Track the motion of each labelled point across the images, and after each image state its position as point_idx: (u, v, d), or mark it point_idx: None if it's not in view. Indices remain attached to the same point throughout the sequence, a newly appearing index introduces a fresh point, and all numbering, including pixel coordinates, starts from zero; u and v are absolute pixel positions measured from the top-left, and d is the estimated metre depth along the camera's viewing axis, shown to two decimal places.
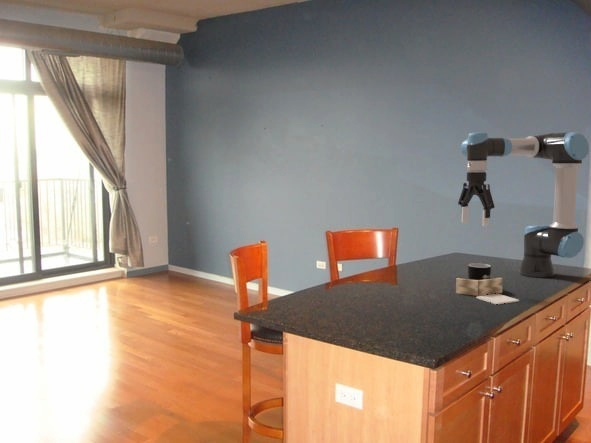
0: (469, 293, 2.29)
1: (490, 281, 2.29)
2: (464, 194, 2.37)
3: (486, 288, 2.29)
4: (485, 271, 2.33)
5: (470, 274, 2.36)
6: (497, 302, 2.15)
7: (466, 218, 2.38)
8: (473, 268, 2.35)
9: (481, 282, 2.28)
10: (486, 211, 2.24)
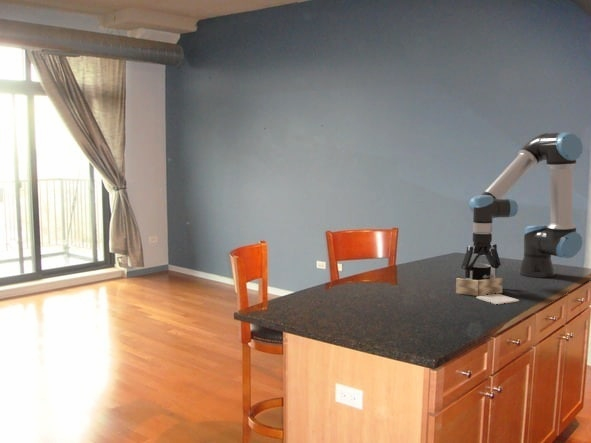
0: (469, 293, 2.29)
1: (490, 281, 2.29)
2: (493, 255, 2.41)
3: (486, 288, 2.29)
4: (485, 271, 2.33)
5: None
6: (497, 302, 2.15)
7: None
8: (473, 268, 2.35)
9: (481, 282, 2.28)
10: None
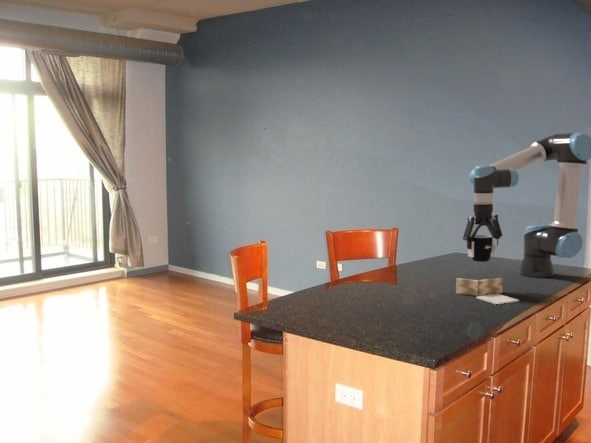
0: (469, 293, 2.29)
1: (490, 281, 2.29)
2: (494, 225, 2.40)
3: (486, 288, 2.29)
4: (487, 241, 2.32)
5: None
6: (497, 302, 2.15)
7: (494, 250, 2.40)
8: (475, 239, 2.33)
9: (481, 282, 2.28)
10: None
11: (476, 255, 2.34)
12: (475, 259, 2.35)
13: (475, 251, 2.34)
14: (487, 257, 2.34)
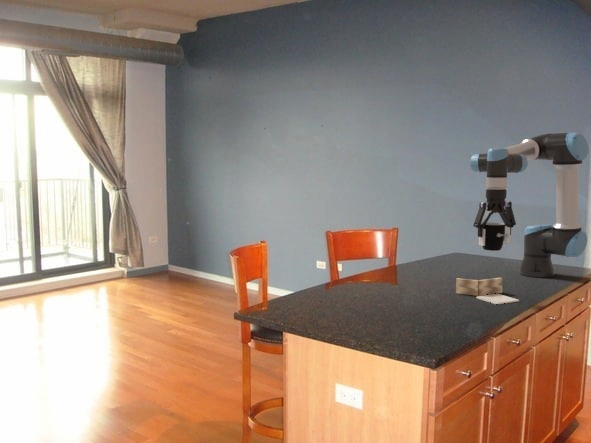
0: (469, 293, 2.29)
1: (490, 281, 2.29)
2: (507, 213, 2.25)
3: (486, 288, 2.29)
4: (499, 229, 2.18)
5: None
6: (497, 302, 2.15)
7: (506, 239, 2.25)
8: (486, 226, 2.19)
9: (481, 282, 2.28)
10: None
11: (487, 243, 2.20)
12: (486, 248, 2.21)
13: (486, 239, 2.20)
14: (499, 246, 2.19)
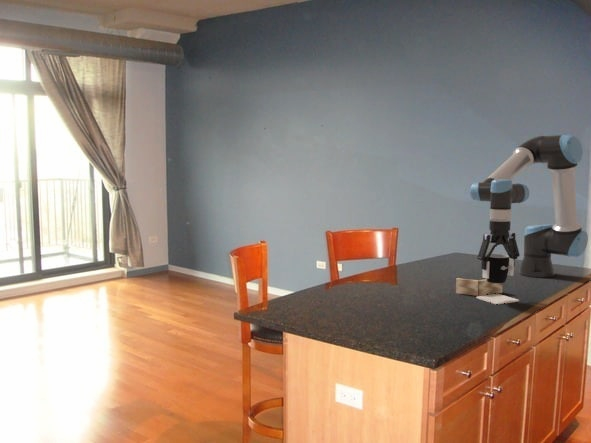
0: (469, 293, 2.29)
1: None
2: (511, 244, 2.22)
3: (486, 288, 2.29)
4: (503, 262, 2.14)
5: None
6: (497, 302, 2.15)
7: (510, 271, 2.22)
8: (490, 258, 2.16)
9: (481, 282, 2.28)
10: None
11: (491, 276, 2.16)
12: (490, 280, 2.18)
13: (490, 272, 2.16)
14: (503, 279, 2.16)
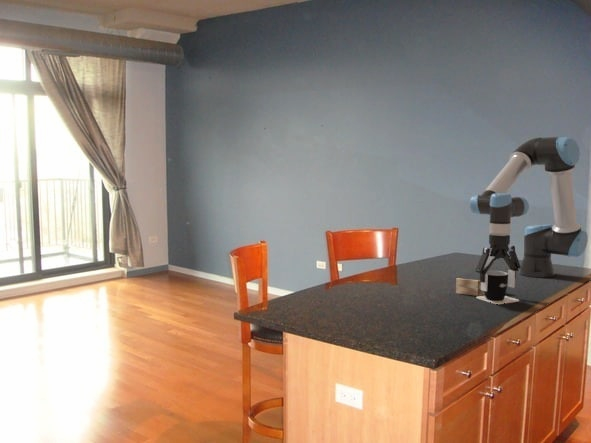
0: (469, 293, 2.29)
1: None
2: (511, 257, 2.23)
3: None
4: (502, 279, 2.15)
5: None
6: (497, 302, 2.15)
7: (511, 283, 2.23)
8: (489, 276, 2.16)
9: None
10: None
11: (490, 294, 2.17)
12: (489, 298, 2.18)
13: (489, 289, 2.17)
14: (502, 296, 2.17)
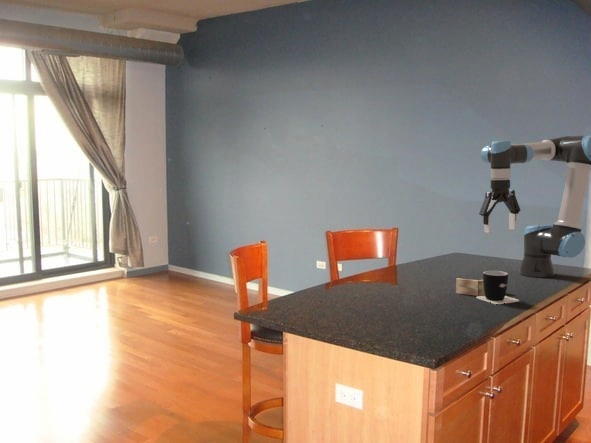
0: (469, 293, 2.29)
1: None
2: (511, 201, 2.37)
3: None
4: (502, 279, 2.15)
5: (485, 282, 2.18)
6: (497, 302, 2.15)
7: (512, 225, 2.38)
8: (489, 276, 2.16)
9: (481, 282, 2.28)
10: None
11: (490, 294, 2.17)
12: (489, 298, 2.18)
13: (489, 289, 2.17)
14: (502, 296, 2.17)
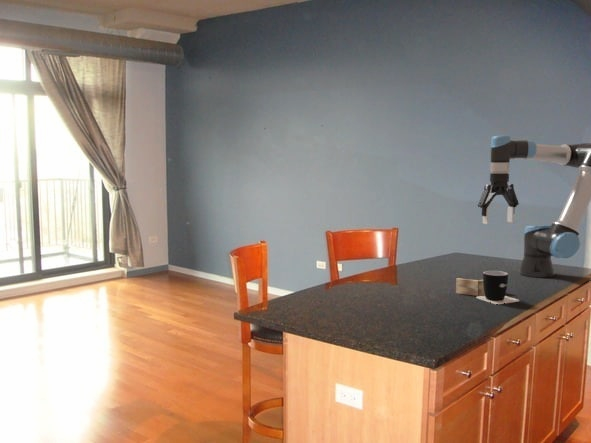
0: (469, 293, 2.29)
1: None
2: (510, 194, 2.46)
3: None
4: (502, 279, 2.15)
5: (485, 282, 2.18)
6: (497, 302, 2.15)
7: (510, 218, 2.46)
8: (489, 276, 2.16)
9: (481, 282, 2.28)
10: None
11: (490, 294, 2.17)
12: (489, 298, 2.18)
13: (489, 289, 2.17)
14: (502, 296, 2.17)
